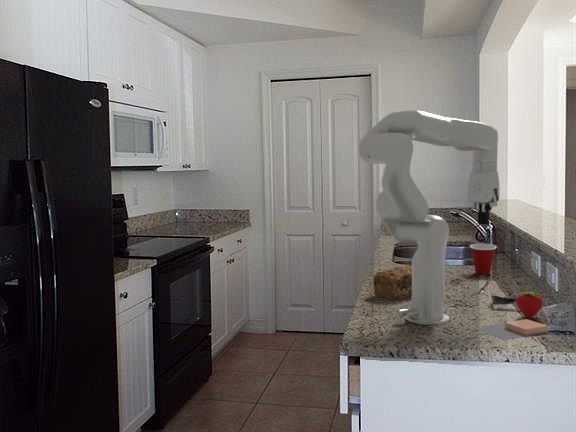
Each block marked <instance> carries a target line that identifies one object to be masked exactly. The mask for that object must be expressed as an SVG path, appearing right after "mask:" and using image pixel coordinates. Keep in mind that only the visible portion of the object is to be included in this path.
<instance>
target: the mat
mask: <svg viewBox="0 0 576 432" xmlns="http://www.w3.org/2000/svg"><path fill="white" fill-rule="evenodd" d="M472 329H474V330H477V331H479V332H482V333H485V334H487V335H490V336H493V337H496V338H498V339H500V340H503V341H505V340H506V341H507V340H512V339H513V340H514V339H517V338H523V337H529V336H530V337H531V336H536V335H543V334H547V333H550V332H549V331H547V332H541V333H535V334H529V335H524V334H521V333H518V332H515V331H512V330H509V329H506V328H505V322H504V323H498V324H491V325H486V326H479V327H473V328H472Z"/></svg>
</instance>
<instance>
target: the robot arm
mask: <svg viewBox="0 0 576 432" xmlns="http://www.w3.org/2000/svg"><path fill="white" fill-rule="evenodd" d="M498 132H499V131H498V130H497V128H495V127H494V126H491V125H489V124H486V123H483V122H479V121H474V120H464V119H459V118H453V117H451V118H450V117H445V116H441V115H437V114H433V113H429V112H426V111H422V110H416V109H411V110H403V111H393V112H390V113H389V114H387V115H385V116H384V117H383V118H382V119H380V120H379V121H378V122H377V123H376V124H375V125H373V126H372V128H370V129H369V131H367V132H366V133H365V134H364V135H363V136H362V137H361V139H360V141H359V143H358V147H357V150H358V155H359V157H360V158H361V160H362V161H363V162H365V163H367V164H373V165H374V164H377V165H380V164H381V165H383V164H385V166H384V170H383V174H382V176H381V187H382V191H381V192H380V193H378V195H377V196H376V200H375V211H376V213H377V216H378V217H379V219H380V221H381V222H382V223H383V225H384V226H385V228H387V230H388V232H389V233H390V235H392V237H393V238H394V239H395V240H396V241H397V242H398V243H401V244H405V245H410V246H417V249H416V251H415V253H414V254H413V256H412V260H411V265H412V297H411V304H408V305H407V308H406V309H403V308H402V309H398V310H397V315H398V317H405V319H406V321H408V322H409V323H412V324H417V325H422V326H423V325H424V326H433V325H439V324H446V323H448V322H449V321H450V316H449V315H448V314H445V284H446V283H445V280H446V279H445V277H446V273H445V272H446V271H445V270H446V269H445V268H446V266H445V265H446V251H447V245H448V240H449V235H450V227H449V224H448V222H447V221H446V220H445V219H444V218H443V217H440V216H438V215H434V214H429V208H430V207H429V204H428V202H427V200H426V198H425V196H424V195H423V193H422V192H421V190H420V188H418V186H417V184H416V182H415V181H414V180H413V177H412V175H411V163H412V159H413V158H412V157H413V152H414V145H413V141H414V142H419V143H423V144H424V143H425V144H427V145H428V144H429V145H433V146H437V147H453V148H454V149H455V150H456V151H458V152H459V151H460V152H472V160H471V161H472V164H471V166H472V167H471V169H472V170H471V171H470V174H469V178H468V187H467V200H468V201H469V202H470V205H471V206H474V207H475V210H476V212H477V224H478V225H481V226H482V225H489V223H490V212H491V211H492V209H493V208H495V207H496V208H497V207H498V202H499V200H500V179H499V178H500V176H499V172H498V145H499V144H498V141H499V133H498Z"/></svg>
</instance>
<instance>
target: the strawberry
mask: <svg viewBox="0 0 576 432" xmlns="http://www.w3.org/2000/svg"><path fill="white" fill-rule="evenodd" d="M530 289H531V291H529V292H528V291H522V292H521V291H520V294H519V295H518V296H517V297H515V298H516V303H517V304H516V306H517V309H518V308H519V309H520V311H519V312H521V314H522V315H523V316H524V317H525V319H526V318H527V319H533V318H534V317H535V316H536V315H538V313H539V312H540V310H541V309H542V307H543V304H544V301H543V298H542V297H541V296H539V295H541V294H540V293H536V292H534V291H533V290H532V289H533V288H532V287H530Z"/></svg>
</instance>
